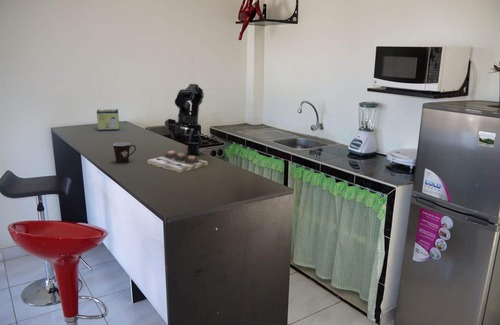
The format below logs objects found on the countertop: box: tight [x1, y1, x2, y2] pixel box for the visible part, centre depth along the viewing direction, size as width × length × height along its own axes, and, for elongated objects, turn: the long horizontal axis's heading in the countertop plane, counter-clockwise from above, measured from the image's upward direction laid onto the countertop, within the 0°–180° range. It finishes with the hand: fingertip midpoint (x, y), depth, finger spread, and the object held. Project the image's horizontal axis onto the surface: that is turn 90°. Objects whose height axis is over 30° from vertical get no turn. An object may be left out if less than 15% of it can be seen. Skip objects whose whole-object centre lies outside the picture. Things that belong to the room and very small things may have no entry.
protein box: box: [96, 109, 120, 132], centre depth 297 cm, size 10×16×16 cm
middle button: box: [177, 152, 186, 158], centre depth 208 cm, size 4×4×2 cm
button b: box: [187, 155, 196, 161], centre depth 203 cm, size 4×4×2 cm
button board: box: [146, 152, 209, 174], centre depth 206 cm, size 20×26×4 cm
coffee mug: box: [112, 142, 137, 164], centre depth 207 cm, size 12×9×10 cm
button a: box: [167, 150, 176, 155], centre depth 213 cm, size 4×4×2 cm
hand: (181, 141), depth 201 cm, fingers open, 9 cm apart
